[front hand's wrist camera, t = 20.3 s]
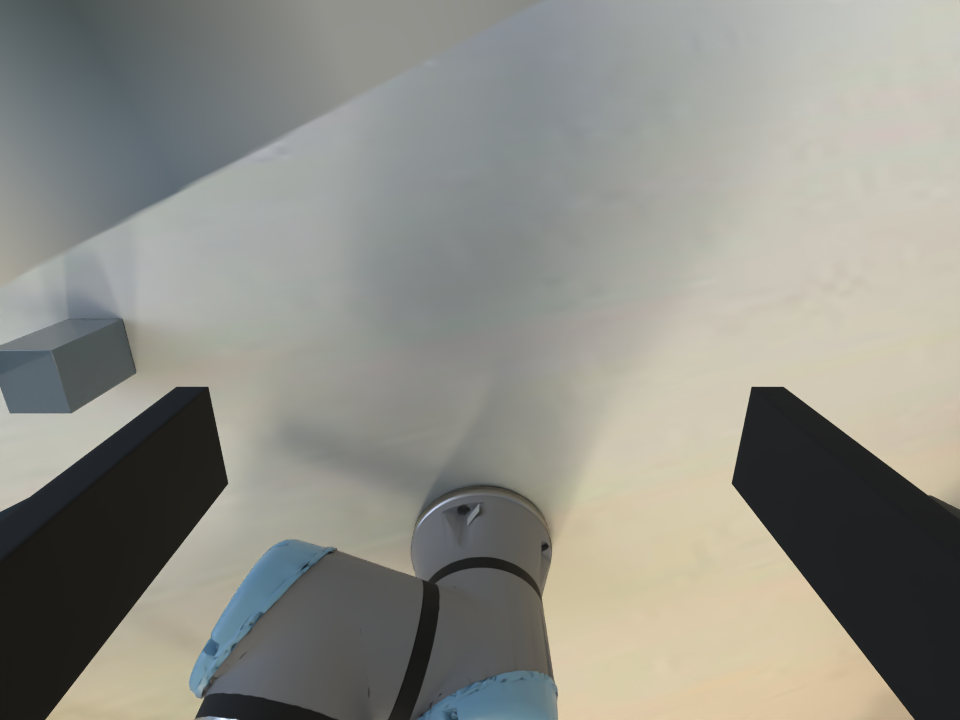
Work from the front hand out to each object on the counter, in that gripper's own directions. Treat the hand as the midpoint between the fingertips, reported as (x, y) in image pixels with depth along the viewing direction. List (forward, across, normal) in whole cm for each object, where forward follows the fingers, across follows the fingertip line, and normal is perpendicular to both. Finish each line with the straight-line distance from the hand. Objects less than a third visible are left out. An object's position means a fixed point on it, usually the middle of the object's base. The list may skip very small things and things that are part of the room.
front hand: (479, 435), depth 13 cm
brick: (+35, +36, +10) cm, 51 cm away
